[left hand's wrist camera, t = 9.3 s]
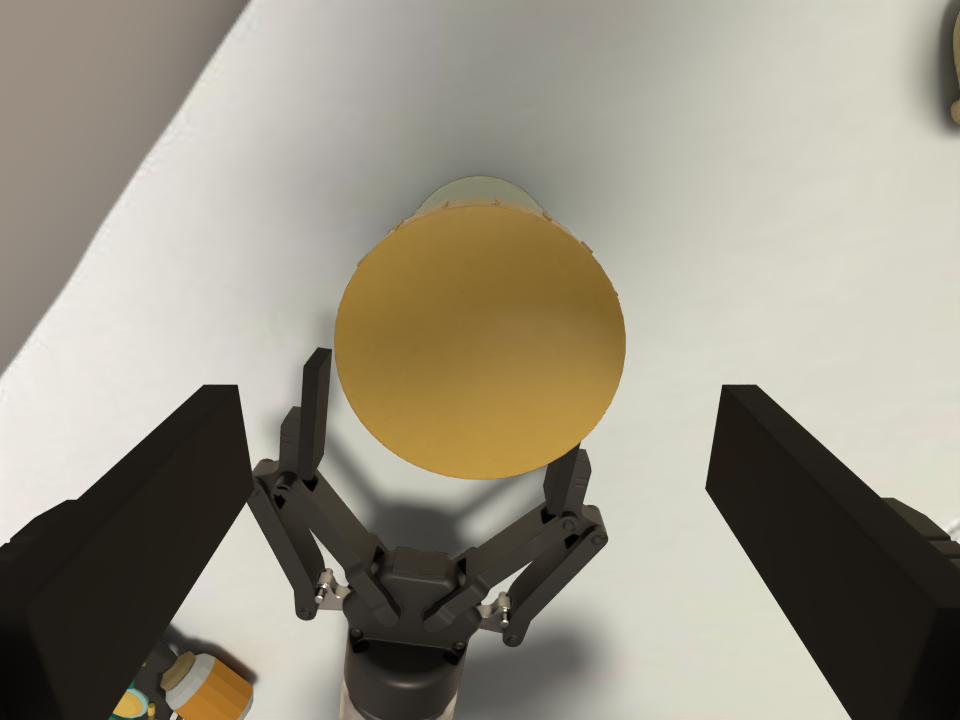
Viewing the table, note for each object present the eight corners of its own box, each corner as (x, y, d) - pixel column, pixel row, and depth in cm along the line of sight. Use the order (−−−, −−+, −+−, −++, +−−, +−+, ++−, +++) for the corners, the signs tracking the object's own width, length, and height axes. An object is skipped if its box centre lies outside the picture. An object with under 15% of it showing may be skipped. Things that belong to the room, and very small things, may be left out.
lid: (343, 436, 22) (329, 467, 20) (353, 178, 19) (337, 184, 17) (585, 461, 22) (596, 494, 20) (637, 213, 19) (656, 222, 17)
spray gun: (220, 777, 52) (56, 711, 50) (290, 667, 46) (107, 586, 44) (195, 831, 48) (17, 763, 46) (269, 719, 42) (66, 634, 40)
